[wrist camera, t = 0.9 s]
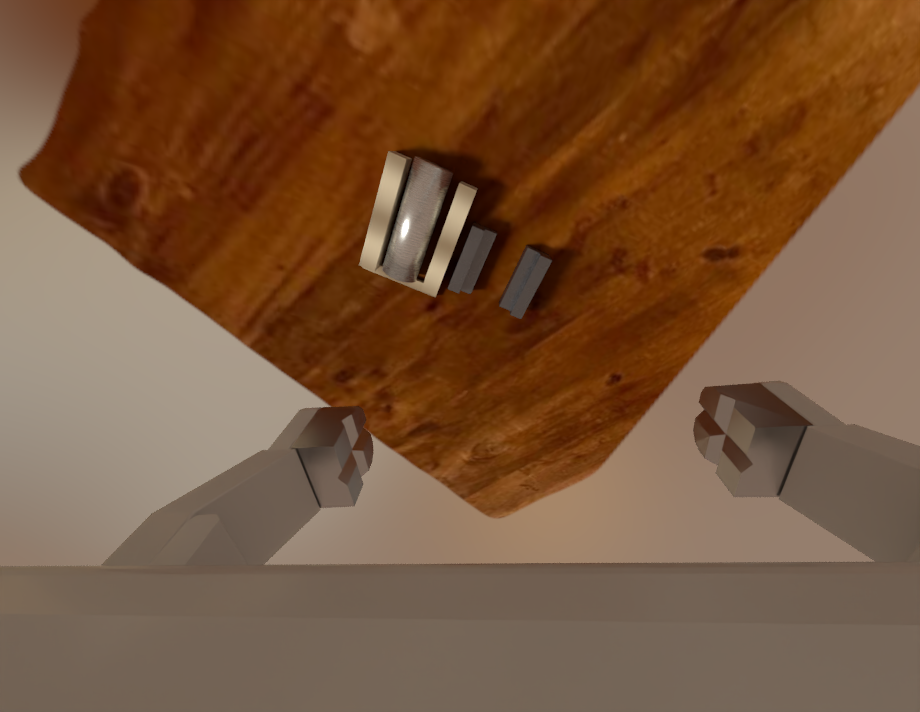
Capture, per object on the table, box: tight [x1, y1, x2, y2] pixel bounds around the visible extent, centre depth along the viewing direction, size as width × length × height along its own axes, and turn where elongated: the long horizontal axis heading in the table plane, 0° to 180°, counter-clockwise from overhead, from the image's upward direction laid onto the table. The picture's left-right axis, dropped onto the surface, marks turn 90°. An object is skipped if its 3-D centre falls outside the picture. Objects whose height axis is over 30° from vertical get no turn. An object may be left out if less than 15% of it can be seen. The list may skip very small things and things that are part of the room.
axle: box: [382, 156, 453, 283], centre depth 42 cm, size 13×4×4 cm, turn 158°
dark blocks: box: [448, 222, 552, 319], centre depth 45 cm, size 8×10×3 cm
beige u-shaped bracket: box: [359, 151, 478, 297], centre depth 43 cm, size 14×10×3 cm
